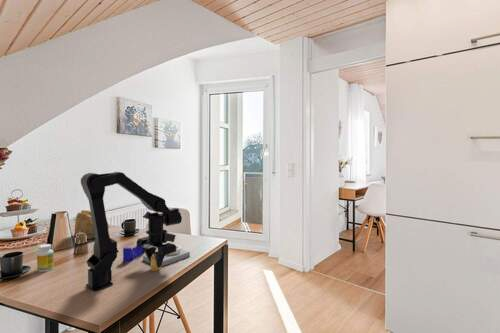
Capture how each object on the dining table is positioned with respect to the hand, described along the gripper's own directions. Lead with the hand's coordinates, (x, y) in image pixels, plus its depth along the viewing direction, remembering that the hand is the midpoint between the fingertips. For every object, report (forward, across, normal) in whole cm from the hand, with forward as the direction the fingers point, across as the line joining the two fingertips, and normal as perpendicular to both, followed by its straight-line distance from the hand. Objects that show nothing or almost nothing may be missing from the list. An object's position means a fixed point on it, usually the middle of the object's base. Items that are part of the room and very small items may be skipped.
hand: (156, 266), depth 114 cm
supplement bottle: (+1, +34, +27) cm, 43 cm away
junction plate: (+1, +6, -10) cm, 12 cm away
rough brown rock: (+1, +65, -5) cm, 65 cm away
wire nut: (+1, 0, 0) cm, 1 cm away
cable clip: (+1, +19, -2) cm, 20 cm away
